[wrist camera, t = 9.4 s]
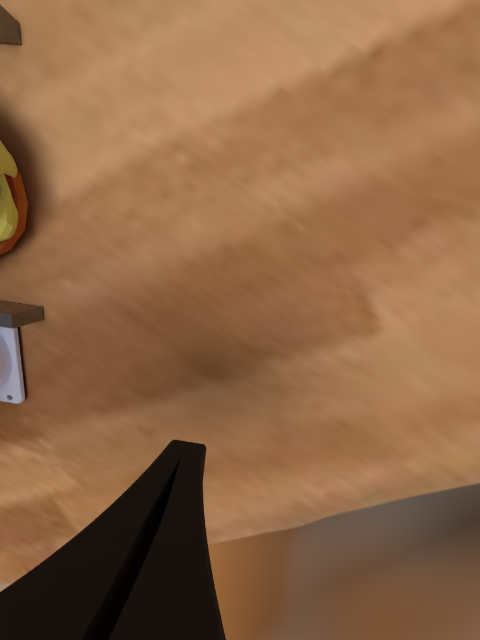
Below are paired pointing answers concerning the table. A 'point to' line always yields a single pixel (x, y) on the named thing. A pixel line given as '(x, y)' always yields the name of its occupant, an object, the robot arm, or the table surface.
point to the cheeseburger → (11, 202)
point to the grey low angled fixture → (4, 313)
